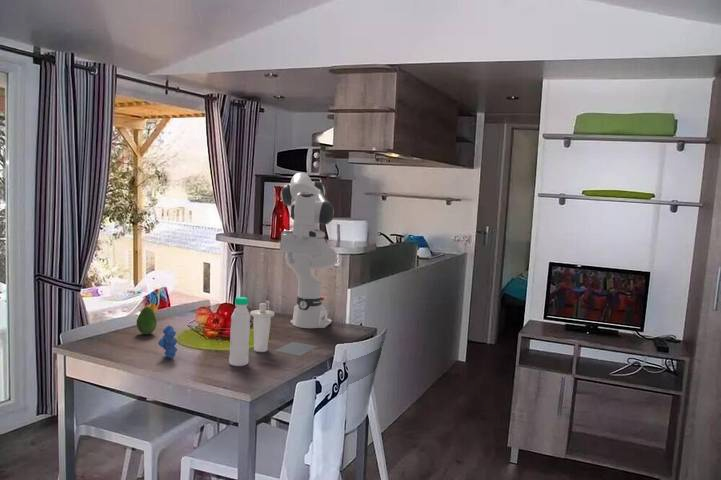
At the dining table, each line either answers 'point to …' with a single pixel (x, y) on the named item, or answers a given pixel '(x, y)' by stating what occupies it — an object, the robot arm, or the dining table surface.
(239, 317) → the water bottle
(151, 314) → the avocado
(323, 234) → the robot arm
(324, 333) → the dining table surface
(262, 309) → the lid
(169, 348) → the grapes
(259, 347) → the drinking glass
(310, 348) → the mat
